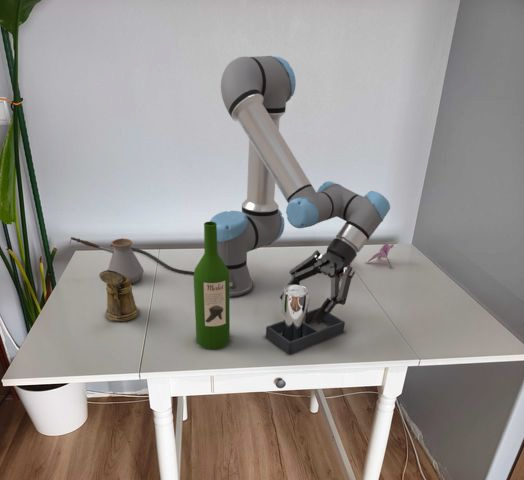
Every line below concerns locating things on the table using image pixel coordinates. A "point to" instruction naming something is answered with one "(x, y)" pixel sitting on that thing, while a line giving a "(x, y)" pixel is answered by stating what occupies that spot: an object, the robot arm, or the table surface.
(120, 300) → the wooden mug
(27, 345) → the table surface
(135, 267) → the coffee pot
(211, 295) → the wine bottle
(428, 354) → the table surface
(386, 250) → the lily
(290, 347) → the rectangular tray
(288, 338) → the beer glass
